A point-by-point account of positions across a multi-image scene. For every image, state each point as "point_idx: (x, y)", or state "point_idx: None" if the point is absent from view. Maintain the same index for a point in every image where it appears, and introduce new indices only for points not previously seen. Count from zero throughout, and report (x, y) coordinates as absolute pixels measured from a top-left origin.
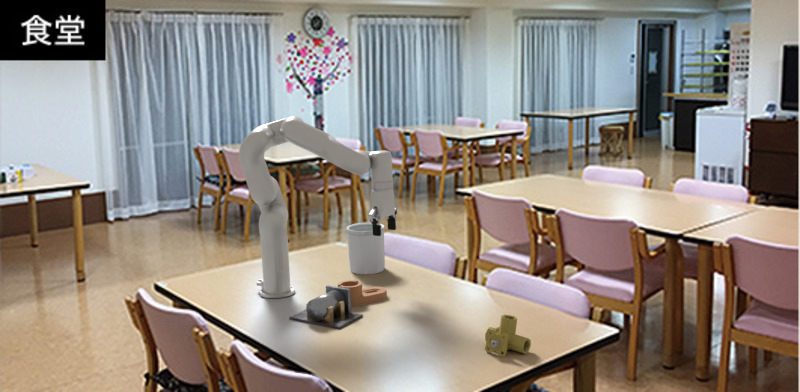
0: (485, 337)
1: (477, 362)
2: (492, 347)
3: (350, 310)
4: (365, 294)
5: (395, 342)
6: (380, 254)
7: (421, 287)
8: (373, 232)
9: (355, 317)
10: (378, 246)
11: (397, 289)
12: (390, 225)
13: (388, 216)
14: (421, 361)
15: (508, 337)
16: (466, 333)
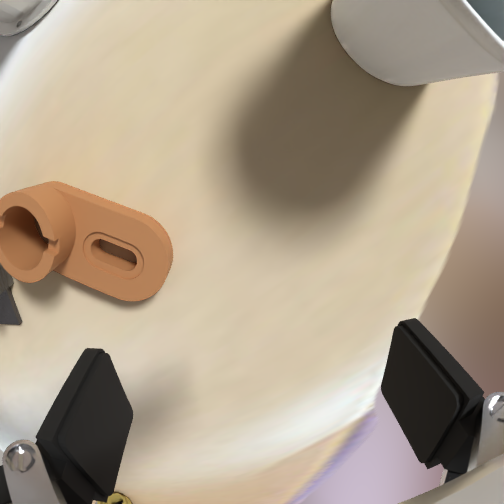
0: (108, 497)
1: None
2: None
3: (8, 286)
4: (75, 263)
5: (21, 416)
6: (431, 75)
7: (306, 313)
8: (79, 372)
9: (2, 321)
10: (446, 65)
11: (247, 262)
12: (408, 382)
13: (473, 445)
14: None
15: None
16: (120, 473)
